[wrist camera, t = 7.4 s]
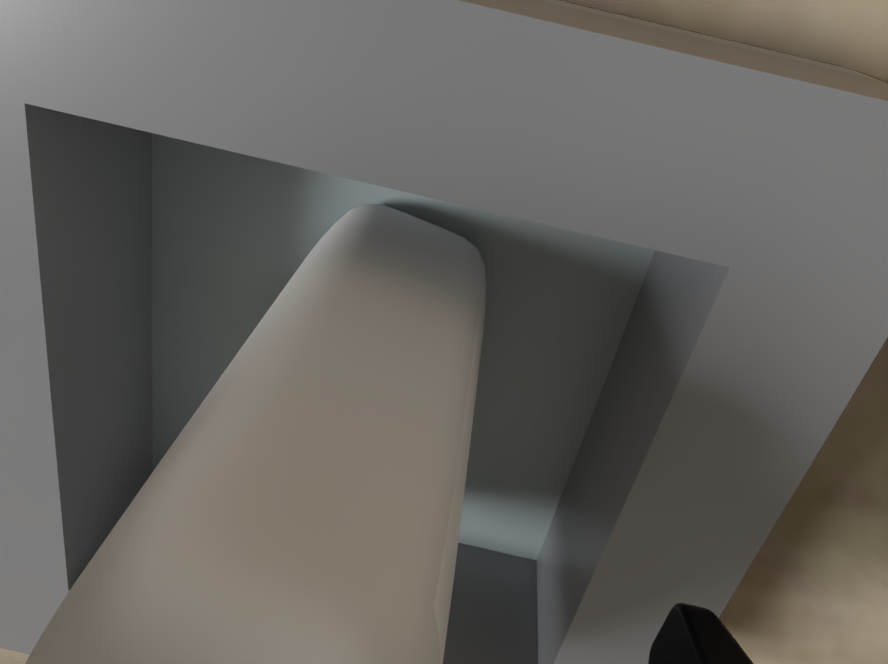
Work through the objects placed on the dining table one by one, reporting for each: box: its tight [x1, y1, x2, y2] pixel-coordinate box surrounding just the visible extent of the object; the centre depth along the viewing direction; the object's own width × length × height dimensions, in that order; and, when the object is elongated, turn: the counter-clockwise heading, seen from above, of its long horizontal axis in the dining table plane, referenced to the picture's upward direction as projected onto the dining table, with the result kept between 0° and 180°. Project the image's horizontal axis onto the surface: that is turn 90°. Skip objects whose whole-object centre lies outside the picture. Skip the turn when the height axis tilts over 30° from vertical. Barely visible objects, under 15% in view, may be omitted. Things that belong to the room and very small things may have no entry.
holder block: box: [0, 0, 888, 664], centre depth 11 cm, size 12×12×4 cm
